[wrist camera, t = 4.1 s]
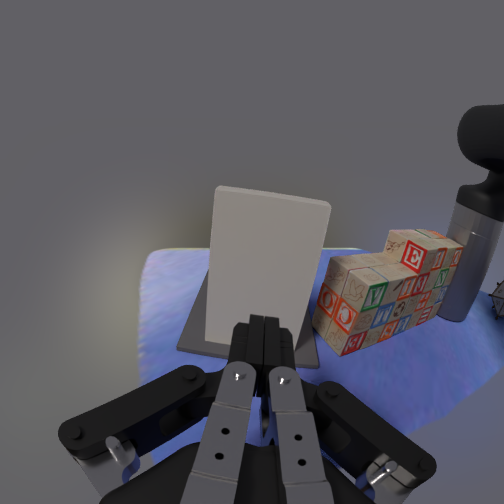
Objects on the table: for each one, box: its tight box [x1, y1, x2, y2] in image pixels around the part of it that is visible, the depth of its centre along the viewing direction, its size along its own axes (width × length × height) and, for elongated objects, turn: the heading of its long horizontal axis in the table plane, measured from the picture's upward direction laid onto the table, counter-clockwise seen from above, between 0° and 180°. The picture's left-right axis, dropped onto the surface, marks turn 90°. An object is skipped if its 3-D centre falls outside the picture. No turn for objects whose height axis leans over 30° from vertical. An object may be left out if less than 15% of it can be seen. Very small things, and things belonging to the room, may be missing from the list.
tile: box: [205, 186, 331, 350], centre depth 25 cm, size 2×9×15 cm, turn 87°
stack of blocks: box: [311, 229, 463, 356], centre depth 32 cm, size 21×6×12 cm, turn 114°
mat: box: [176, 269, 319, 369], centre depth 35 cm, size 21×14×1 cm, turn 177°
